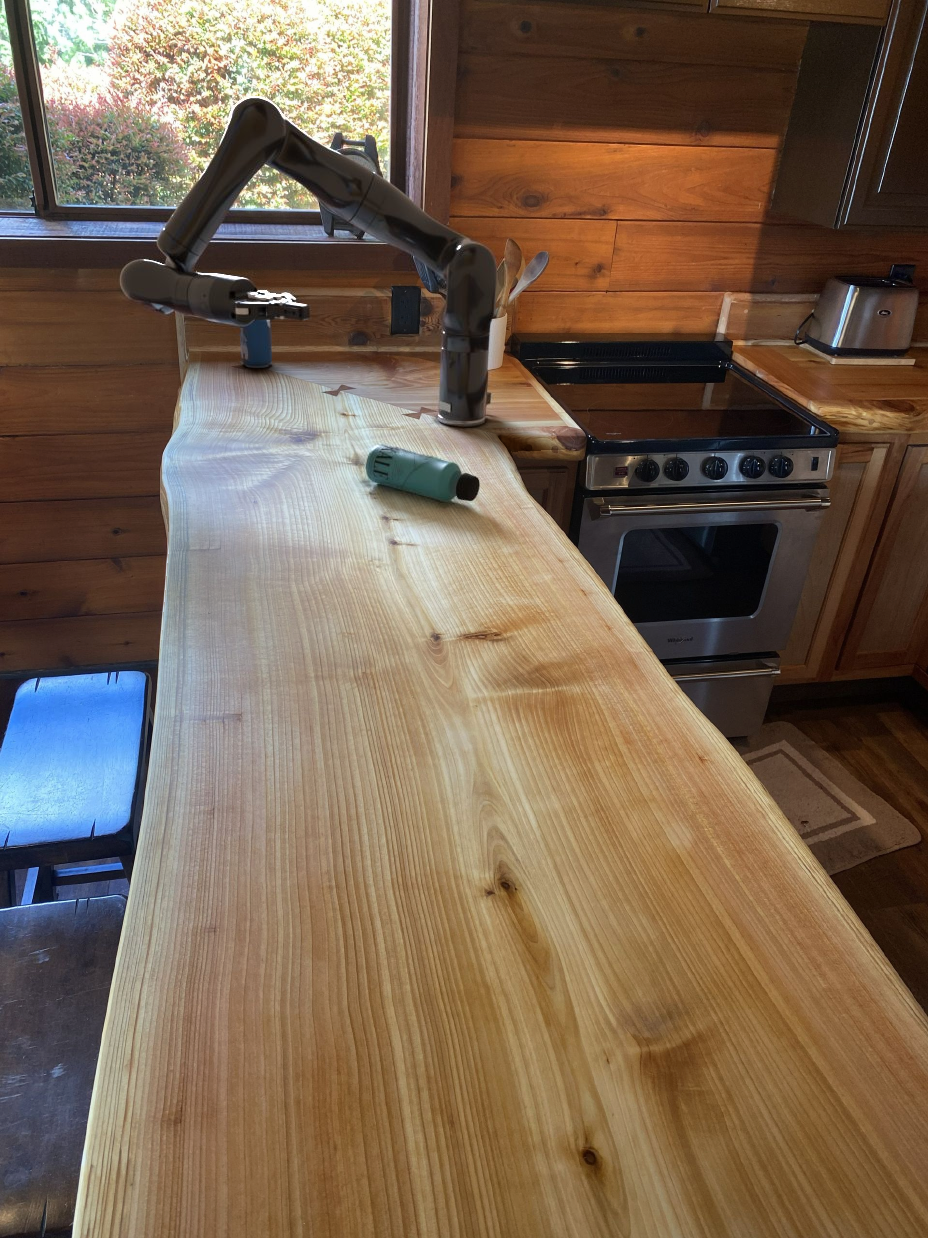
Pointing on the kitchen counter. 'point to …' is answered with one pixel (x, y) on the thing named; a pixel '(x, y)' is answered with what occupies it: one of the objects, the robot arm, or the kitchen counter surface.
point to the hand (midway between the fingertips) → (306, 312)
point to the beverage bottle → (420, 474)
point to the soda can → (256, 344)
